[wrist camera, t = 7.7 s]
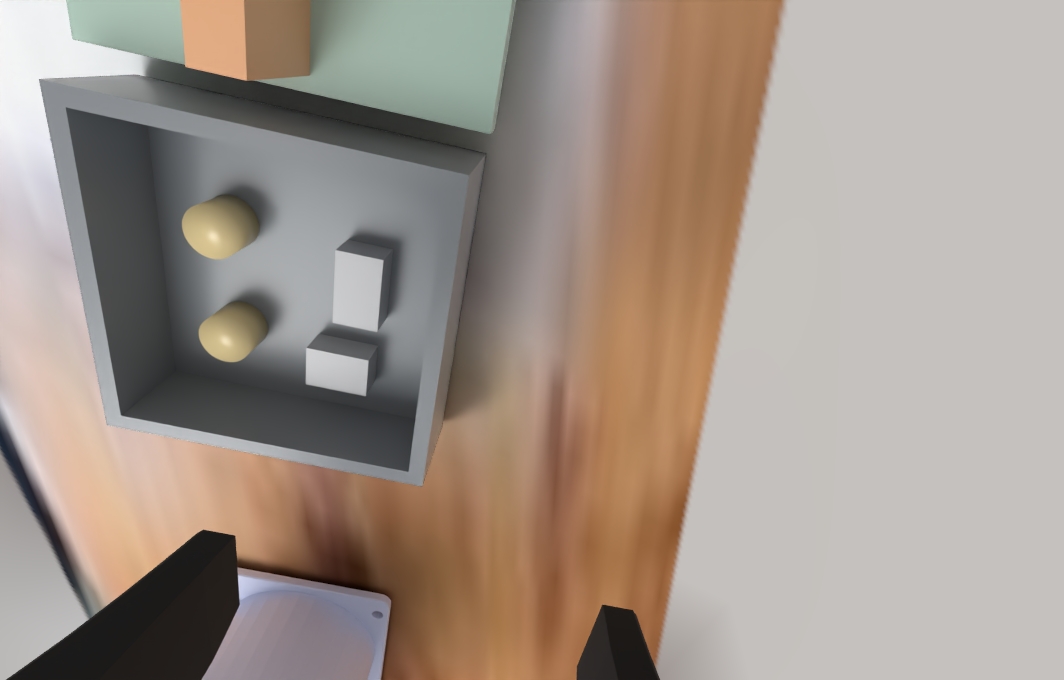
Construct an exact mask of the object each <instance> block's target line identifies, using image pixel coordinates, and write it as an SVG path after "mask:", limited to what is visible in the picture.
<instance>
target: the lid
mask: <svg viewBox="0 0 1064 680" xmlns="http://www.w3.org/2000/svg"><path fill="white" fill-rule="evenodd" d="M66 2H67V8H68V14H69V20H70V26H71V32H72V38H73V39H74V40H78V41H82V42H87V43H91V44H96V45H100V46H104V47H109V48H113V49H118V50H122V51H126V52H131V53H135V54H140V55H144V56H148V57H153V58H157V59H162V60H166V61H170V62H175V63H179V64H184V65H185V67H188V68H192V69H197V70H201V71H206V72H210V73H214V74H219V75H223V76H228V77H232V78H236V79H241V80H245V81H251V80H254V81H258V82H263V83H267V84H271V85H276V86H280V87H285V88H289V89H293V90H298V91H302V92H307V93H311V94H315V95H320V96H324V97H329V98H333V99H337V100H342V101H346V102H351V103H355V104H359V105H364V106H368V107H372V108H377V109H381V110H386V111H390V112H394V113H399V114H403V115H408V116H412V117H416V118H421V119H425V120H430V121H434V122H438V123H443V124H447V125H452V126H456V127H460V128H465V129H469V130H474V131H478V132H482V133H487V134H491V133H492V132H493V131H494V130H495V126H496V119H497V113H498V107H499V101H500V95H501V89H502V83H503V77H504V71H505V65H506V59H507V53H508V47H509V41H510V35H511V29H512V23H513V17H514V11H515V5H516V0H66Z"/></svg>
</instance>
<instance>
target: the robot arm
mask: <svg viewBox="0 0 1064 680" xmlns="http://www.w3.org/2000/svg"><path fill="white" fill-rule="evenodd" d="M390 609H391V600H390V599H389V597H387V596H386V595H384V594H380V593H374V592H369V591H363V590H358V589H352V588H347V587H342V586H336V585H331V584H325V583H320V582H315V581H309V580H304V579H298V578H293V577H288V576H282V575H277V574H271V573H266V572H260V571H255V570H250V569H244V568H239V567H237V554H236V539H235V536H234V535H228V534H223V533H218V532H212V531H207V530H202V531H200V532H198V533H197V534H196V535H195V536H193V537H192V538H191V539H190V540H188V541H187V542H186V543H185V544H184V545H182V546H181V547H180V548H179V549H177V550H176V551H175V552H174V553H173V554H171V555H170V556H169V557H168V558H166V559H165V560H164V561H163V562H162V563H160V564H159V565H158V566H157V567H155V568H154V569H153V570H152V571H150V572H149V573H148V574H147V575H145V576H144V577H143V578H142V579H140V580H139V581H138V582H137V583H135V584H134V585H133V586H132V587H130V588H129V589H128V590H127V591H125V592H124V593H123V594H122V595H120V596H119V597H118V598H116V599H115V600H114V601H112V602H111V603H110V604H109V605H107V606H106V607H105V608H103V609H102V610H101V611H99V612H98V613H97V614H95V615H94V616H93V617H92V618H90V619H89V620H88V621H86V622H85V623H84V624H82V625H81V626H80V627H79V628H77V629H76V630H75V631H73V632H72V633H71V634H69V635H68V636H66V637H65V638H64V639H63V640H61V641H60V642H58V643H57V644H56V645H54V646H53V647H51V648H50V649H49V650H47V651H46V652H44V653H43V654H41V655H40V656H39V657H37V658H36V659H35V660H33V661H32V662H30V663H29V664H28V665H26V666H25V667H24V668H22V669H21V670H19V671H18V672H16V673H15V674H14V675H12V676H11V677H9V678H8V679H7V680H381V677H382V669H383V662H384V654H385V647H386V639H387V632H388V624H389V617H390ZM577 680H660V678H659V676H658V673H657V671H656V668H655V666H654V663H653V660H652V658H651V655H650V653H649V650H648V647H647V644H646V642H645V639H644V636H643V633H642V631H641V628H640V625H639V622H638V619H637V616H636V614H635V613H634V612H633V610H628V609H623V608H618V607H612V606H607V605H602V607H601V610H600V612H599V614H598V617H597V619H596V622H595V624H594V627H593V629H592V631H591V634H590V636H589V639H588V641H587V644H586V646H585V648H584V651H583V653H582V656H581V658H580V661H579V663H578V665H577Z"/></svg>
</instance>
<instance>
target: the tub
mask: <svg viewBox="0 0 1064 680" xmlns="http://www.w3.org/2000/svg"><path fill="white" fill-rule="evenodd" d="M39 81H40V86H41V91H42V97H43V102H44V107H45V112H46V117H47V122H48V127H49V132H50V137H51V142H52V148H53V153H54V158H55V163H56V168H57V173H58V178H59V183H60V188H61V193H62V199H63V204H64V209H65V214H66V219H67V224H68V229H69V234H70V239H71V244H72V250H73V255H74V260H75V265H76V270H77V275H78V280H79V285H80V290H81V295H82V300H83V306H84V311H85V316H86V321H87V326H88V331H89V336H90V341H91V346H92V351H93V357H94V362H95V367H96V372H97V377H98V382H99V387H100V392H101V397H102V402H103V408H104V413H105V418H106V423H107V425H108V426H114V427H119V428H124V429H129V430H134V431H139V432H144V433H150V434H155V435H160V436H165V437H170V438H175V439H180V440H185V441H191V442H196V443H201V444H206V445H211V446H216V447H221V448H226V449H232V450H237V451H242V452H247V453H252V454H257V455H262V456H267V457H273V458H278V459H283V460H288V461H293V462H298V463H303V464H308V465H314V466H319V467H324V468H329V469H334V470H339V471H344V472H350V473H355V474H360V475H365V476H370V477H375V478H380V479H385V480H391V481H396V482H401V483H406V484H411V485H416V486H421V487H422V486H423V483H424V480H425V477H426V474H427V471H428V468H429V465H430V462H431V459H432V456H433V453H434V450H435V447H436V444H437V441H438V438H439V435H440V432H441V429H442V424H443V418H444V412H445V406H446V400H447V393H448V387H449V381H450V375H451V369H452V363H453V356H454V350H455V344H456V338H457V332H458V326H459V319H460V313H461V307H462V301H463V295H464V289H465V282H466V276H467V270H468V264H469V258H470V252H471V245H472V239H473V233H474V227H475V221H476V215H477V208H478V202H479V196H480V190H481V184H482V178H483V171H484V165H485V159H486V154H485V153H481V152H477V151H472V150H468V149H463V148H459V147H454V146H450V145H446V144H441V143H437V142H432V141H428V140H423V139H419V138H415V137H410V136H406V135H401V134H397V133H393V132H388V131H384V130H379V129H375V128H370V127H366V126H362V125H357V124H353V123H348V122H344V121H339V120H335V119H331V118H326V117H322V116H317V115H313V114H308V113H304V112H300V111H295V110H291V109H286V108H282V107H277V106H273V105H269V104H264V103H260V102H255V101H251V100H246V99H242V98H238V97H233V96H229V95H224V94H220V93H215V92H211V91H207V90H202V89H198V88H193V87H189V86H184V85H180V84H176V83H171V82H167V81H162V80H158V79H153V78H149V77H145V76H140V75H117V76H96V77H74V78H52V79H39Z"/></svg>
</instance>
